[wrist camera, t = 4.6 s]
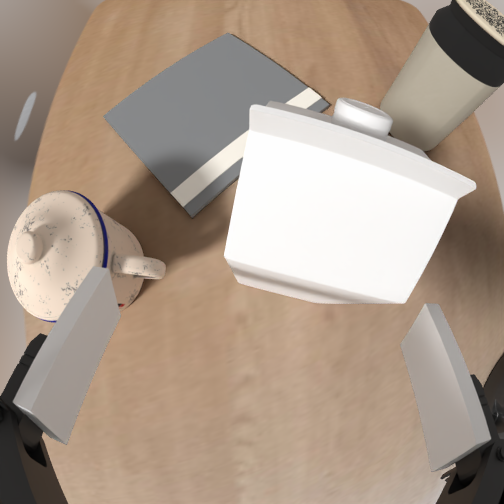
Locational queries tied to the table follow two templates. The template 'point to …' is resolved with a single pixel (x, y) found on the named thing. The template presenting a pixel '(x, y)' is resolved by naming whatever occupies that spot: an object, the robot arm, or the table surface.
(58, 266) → the teacup with lid
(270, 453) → the table surface
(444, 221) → the milk carton
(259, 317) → the table surface
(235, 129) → the mat
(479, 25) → the travel mug
